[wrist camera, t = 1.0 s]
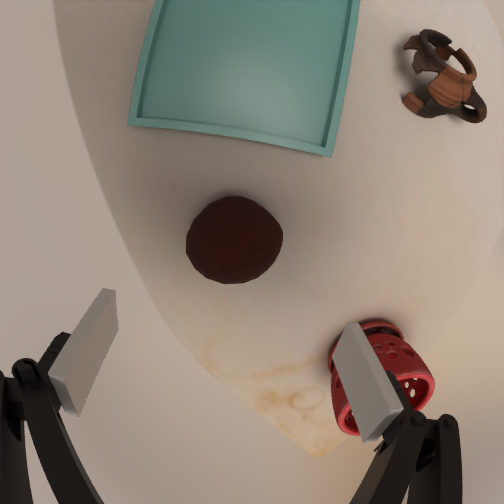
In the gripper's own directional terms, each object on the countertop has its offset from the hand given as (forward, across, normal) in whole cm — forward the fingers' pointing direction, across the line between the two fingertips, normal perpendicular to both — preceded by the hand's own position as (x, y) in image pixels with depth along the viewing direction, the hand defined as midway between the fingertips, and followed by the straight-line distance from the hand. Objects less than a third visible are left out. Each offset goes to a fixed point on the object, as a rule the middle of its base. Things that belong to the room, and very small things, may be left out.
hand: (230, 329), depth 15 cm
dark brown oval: (+17, 0, 0) cm, 17 cm away
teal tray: (+16, -2, +19) cm, 25 cm away
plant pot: (+17, +21, -15) cm, 31 cm away
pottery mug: (+17, +19, +22) cm, 33 cm away
